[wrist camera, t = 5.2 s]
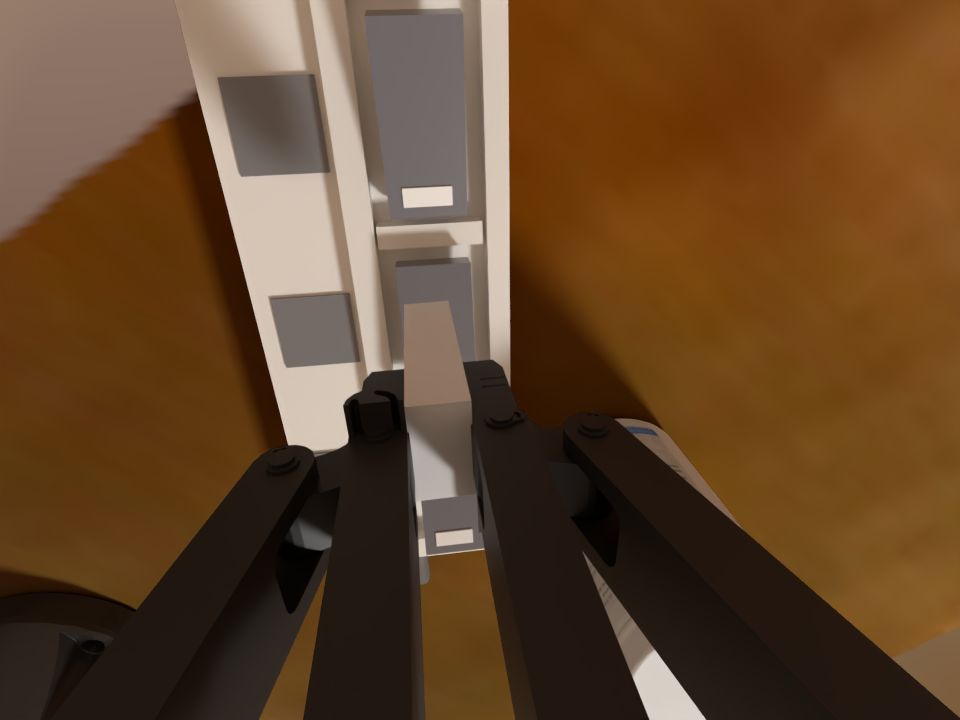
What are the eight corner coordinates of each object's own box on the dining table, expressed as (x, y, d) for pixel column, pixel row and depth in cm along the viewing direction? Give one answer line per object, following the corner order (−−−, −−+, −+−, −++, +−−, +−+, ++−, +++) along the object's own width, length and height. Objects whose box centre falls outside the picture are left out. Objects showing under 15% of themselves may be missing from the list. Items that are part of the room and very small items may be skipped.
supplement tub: (518, 493, 36) (577, 714, 23) (594, 390, 33) (713, 580, 20) (622, 532, 39) (726, 746, 26) (701, 442, 36) (864, 635, 23)
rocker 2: (411, 401, 25) (410, 415, 24) (396, 261, 23) (395, 267, 21) (475, 396, 25) (478, 409, 24) (467, 256, 23) (470, 262, 21)
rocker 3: (426, 540, 29) (426, 556, 27) (415, 425, 27) (414, 435, 26) (481, 534, 29) (484, 549, 28) (474, 419, 28) (477, 429, 26)
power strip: (340, 570, 37) (331, 633, 33) (201, -35, 21) (144, -71, 16) (501, 551, 39) (513, 609, 34) (490, -38, 22) (510, -73, 18)
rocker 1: (390, 205, 22) (390, 220, 21) (365, 10, 17) (363, 16, 16) (464, 201, 22) (467, 216, 21) (459, 8, 18) (463, 14, 16)
